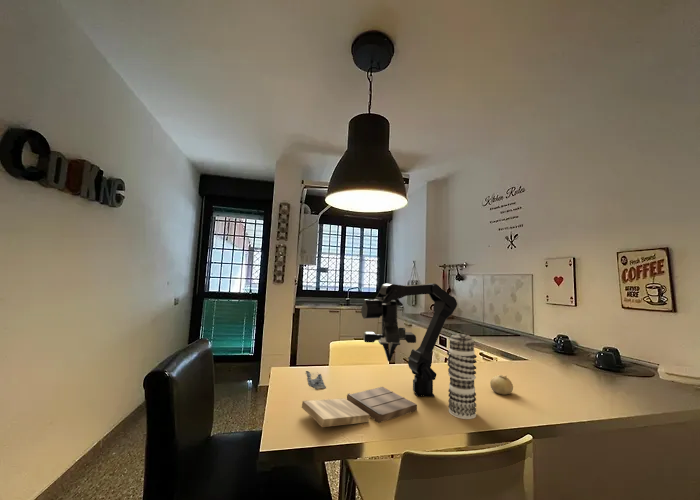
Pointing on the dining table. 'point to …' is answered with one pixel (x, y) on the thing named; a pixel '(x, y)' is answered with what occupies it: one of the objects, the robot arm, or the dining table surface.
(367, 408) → the wooden panel
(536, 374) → the dining table surface
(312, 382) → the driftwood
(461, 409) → the white patterned tower
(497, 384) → the onion
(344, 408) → the plank
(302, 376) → the dining table surface
